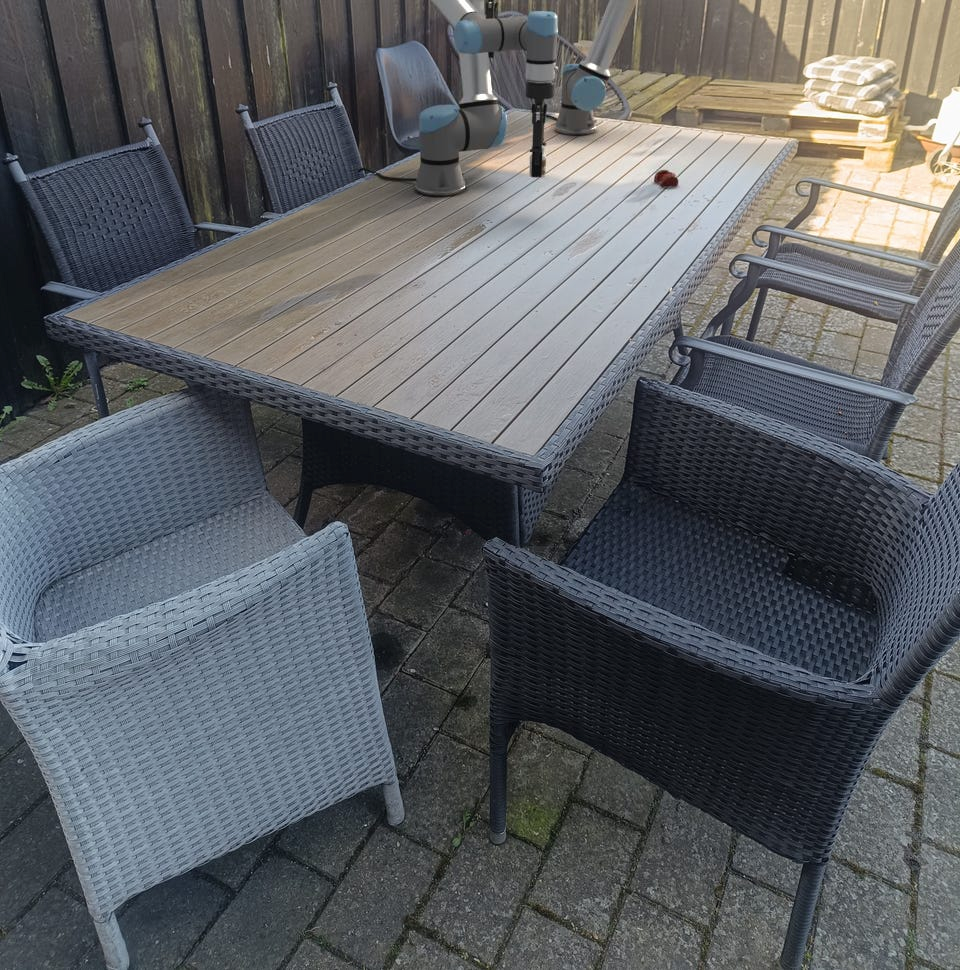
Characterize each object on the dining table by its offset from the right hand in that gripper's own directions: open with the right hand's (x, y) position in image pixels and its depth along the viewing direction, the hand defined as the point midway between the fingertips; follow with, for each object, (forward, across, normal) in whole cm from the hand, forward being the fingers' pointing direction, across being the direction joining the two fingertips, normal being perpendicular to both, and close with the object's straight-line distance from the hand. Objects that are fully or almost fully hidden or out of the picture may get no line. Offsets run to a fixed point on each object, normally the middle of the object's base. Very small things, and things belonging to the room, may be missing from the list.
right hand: (491, 54), depth 289 cm
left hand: (+16, -83, -22) cm, 88 cm away
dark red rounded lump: (+29, -46, -60) cm, 81 cm away
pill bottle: (+17, -83, -22) cm, 88 cm away
